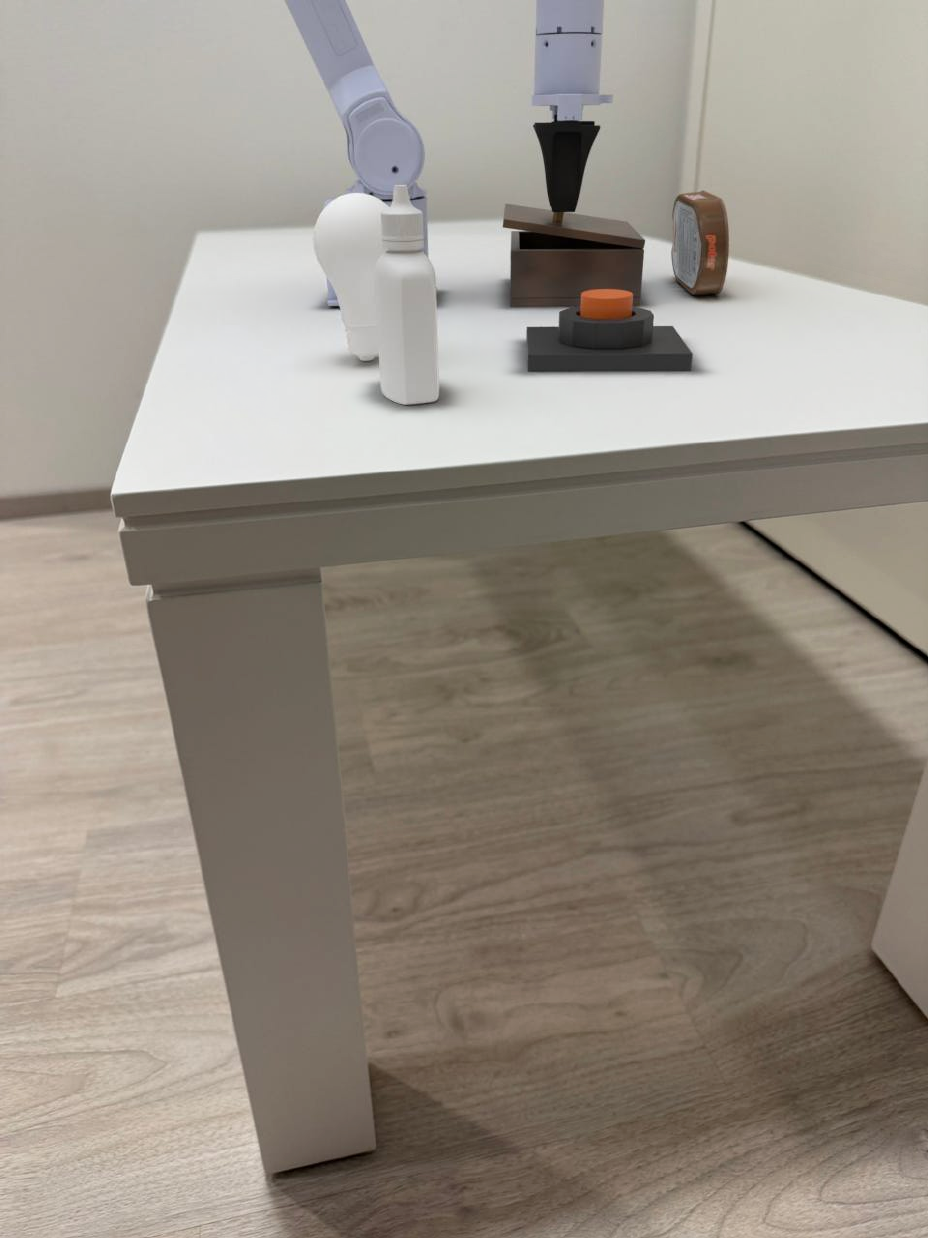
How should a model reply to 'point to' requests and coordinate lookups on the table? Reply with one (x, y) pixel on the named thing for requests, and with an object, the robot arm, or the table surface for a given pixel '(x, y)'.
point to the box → (569, 269)
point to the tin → (700, 242)
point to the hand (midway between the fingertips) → (562, 208)
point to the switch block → (606, 345)
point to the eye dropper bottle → (406, 307)
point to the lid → (571, 225)
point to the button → (606, 304)
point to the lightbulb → (353, 264)
